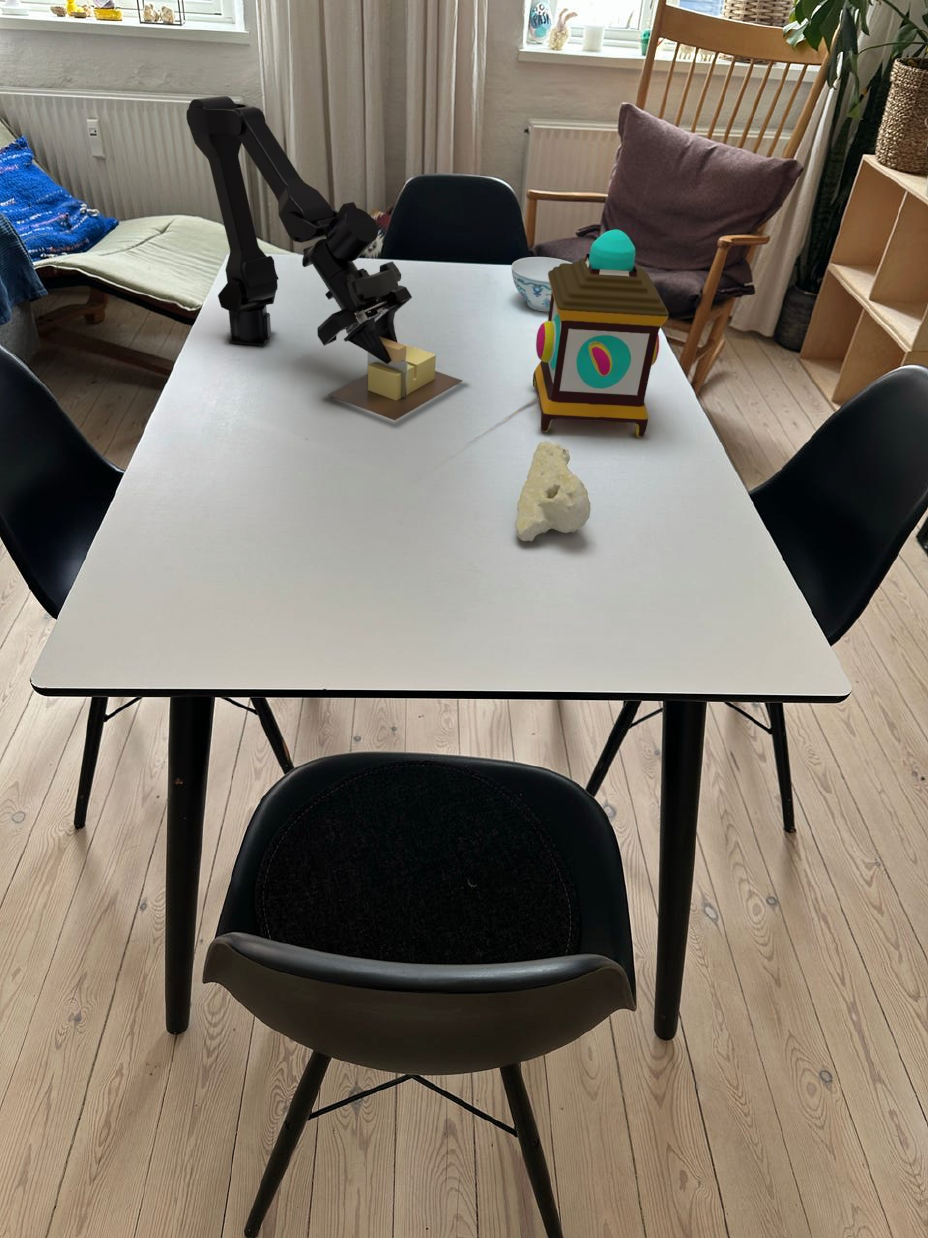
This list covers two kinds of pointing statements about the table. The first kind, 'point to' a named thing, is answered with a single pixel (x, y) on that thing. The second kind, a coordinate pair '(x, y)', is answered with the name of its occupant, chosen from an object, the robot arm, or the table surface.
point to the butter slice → (384, 381)
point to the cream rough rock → (551, 495)
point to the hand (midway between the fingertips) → (394, 360)
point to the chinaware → (535, 280)
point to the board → (389, 407)
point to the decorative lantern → (599, 337)
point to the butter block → (419, 368)
